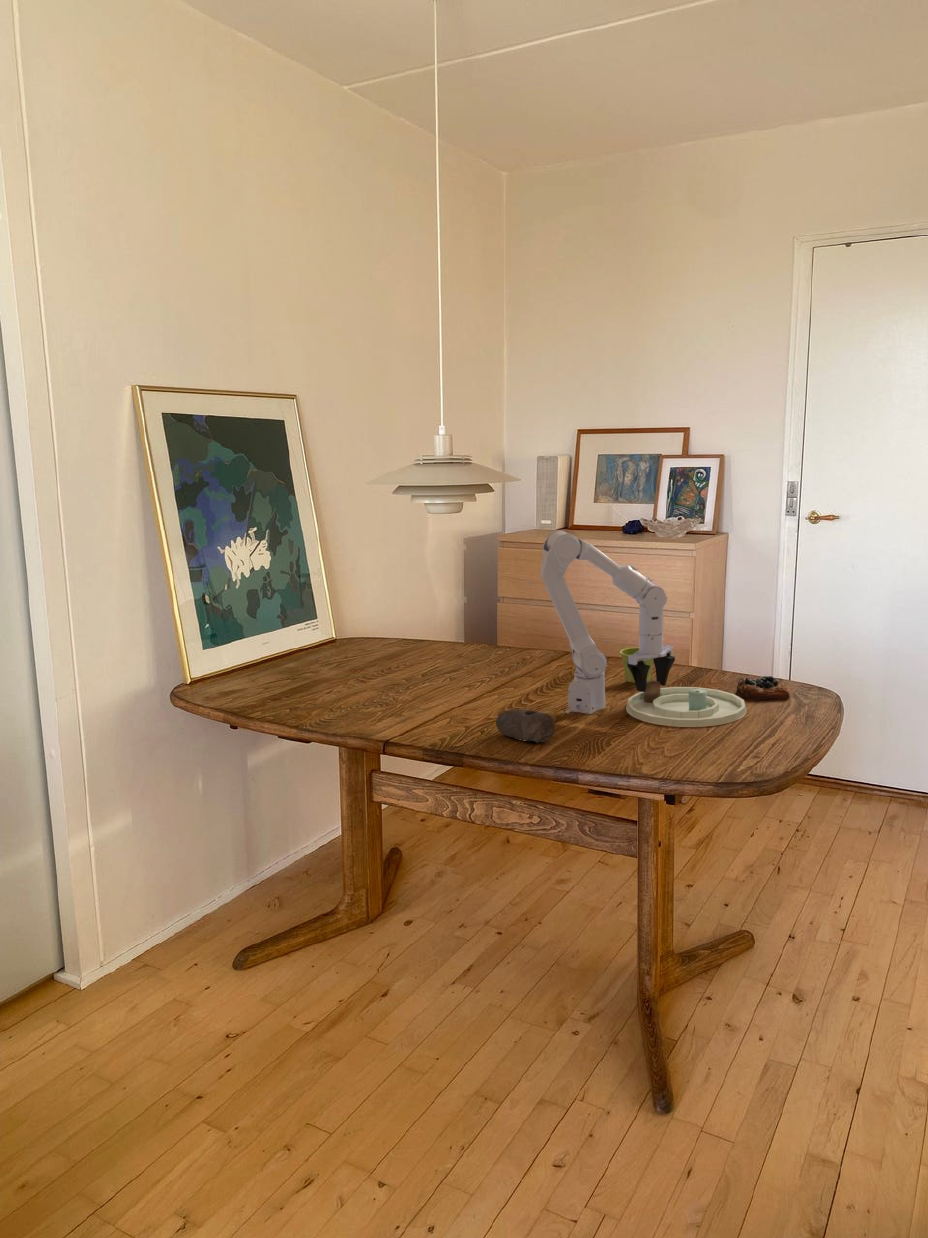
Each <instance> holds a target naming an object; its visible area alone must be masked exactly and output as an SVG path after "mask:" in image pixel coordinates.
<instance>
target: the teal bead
mask: <svg viewBox="0 0 928 1238" xmlns="http://www.w3.org/2000/svg"><path fill="white" fill-rule="evenodd" d="M702 709H707V692H706V691H705V690H701V689H694V690H690V691H689V711H697V710H702Z"/></svg>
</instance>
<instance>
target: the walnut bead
mask: <svg viewBox="0 0 928 1238" xmlns="http://www.w3.org/2000/svg"><path fill="white" fill-rule="evenodd" d="M660 688H661V685H660V682H658V681H657V680H650V681H647V682H646V691H645V692H644V702H647V703H653V700H655V699H656V698H658V697H660Z"/></svg>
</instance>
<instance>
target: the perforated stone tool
mask: <svg viewBox="0 0 928 1238" xmlns="http://www.w3.org/2000/svg"><path fill="white" fill-rule="evenodd" d="M495 726H496V728H497V730H498V731H499V732H500V733H501V734H502V735H503V734H504V736H505V735H506V736H505V737H507V736H508V738H513V737H514V738H517V739H521V740H526V741H528V742H534V743H535V742H536V743H535V744H540V743H539V742H542V743H543V742H548V741H549V740H551V738H553V736H554V734H555V723H554V718H553V717H552V716H551V715H550V714H548V713H545V712H541V711H540V712H539V711H536V710H531V709H530V710H529V709H508V710H505V711H502V712H500V713H498V715H497V718H496V720H495ZM514 738H513V739H514Z"/></svg>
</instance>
